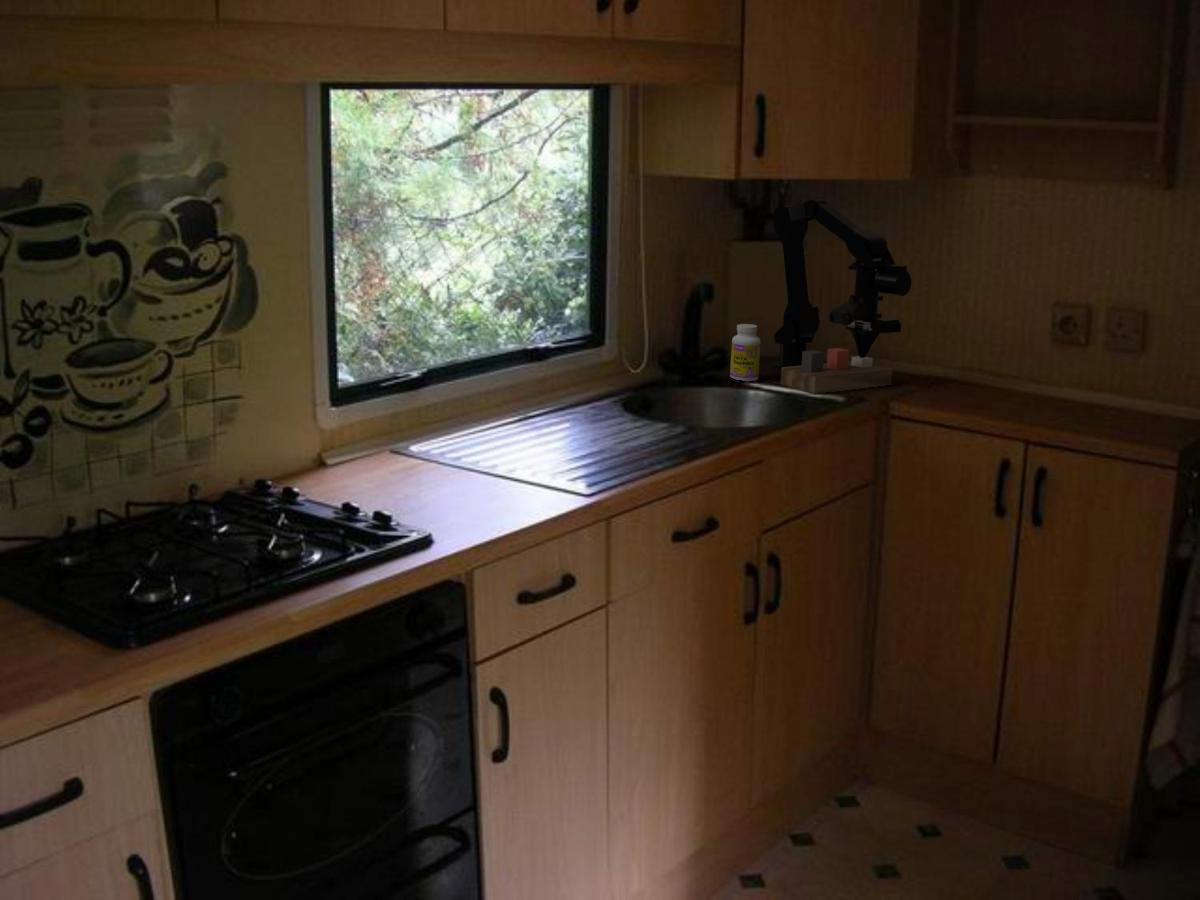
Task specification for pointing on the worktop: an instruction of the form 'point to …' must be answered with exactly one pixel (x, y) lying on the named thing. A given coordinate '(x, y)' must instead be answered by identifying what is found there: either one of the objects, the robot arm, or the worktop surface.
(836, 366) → the plug red
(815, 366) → the gray rectangular block
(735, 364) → the supplement bottle
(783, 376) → the block
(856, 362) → the plug white
